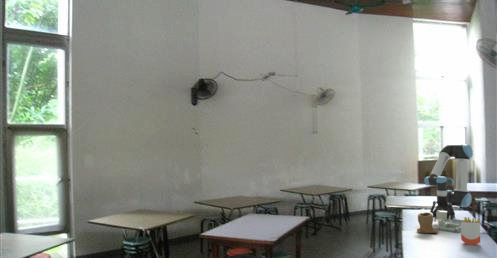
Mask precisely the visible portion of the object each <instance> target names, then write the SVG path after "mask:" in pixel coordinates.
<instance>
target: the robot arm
mask: <svg viewBox="0 0 497 258" xmlns="http://www.w3.org/2000/svg"><path fill="white" fill-rule="evenodd" d="M473 152H474V151H473V147H472V146H471V145H470V144H467V143H449V144H447V145H445V146H444V147H443V148H442V149H441V150H440V151H439V153H438V158H437V160H436V162H435V164H434V166H433V167H432V170H431V172H430V174H429V176H426V177H424V179H423V180H424V184H425V186H428V187H429V186H430V187H436V201H435V200H434V201H432V206H431V209H430V210H429V213H431V214H432V216H433V223H437V219H436V218H435V217H434V212H436V210H439V211H441V210H442V211H448V213H449V214H450V216H449V218H448V221H449V222H448V223H449V224H452V221H453V218H456V214H455V211H454V208H453V206H454V207H462V208H467V207H469V206H470V205H471V202H472V200H473V198H472V194H471V193H470V191H469V190H468V166H469V165H468V164H469V163H468V162H470V161H471V159H470V158H472V157H473V155H474V154H473ZM451 158H454V160H455V161H456V168H455V169H456V171H455V173H456V174H455V179H456V180H454V179H453V178H451V177H447V176H442V172H443V170H444V169H445V166H446V164H447V163H448V161H449V160H450V159H451ZM454 185H455V189H453V190H452V189H448V188H451V187H453V186H454Z"/></svg>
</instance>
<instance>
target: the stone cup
mask: <svg viewBox="0 0 497 258" xmlns="http://www.w3.org/2000/svg"><path fill="white" fill-rule="evenodd" d="M417 221H418V224H419V227H418V228H417V229H416V231H417V232H418V233H420V234H421V233H422V234H438V232H439V230H438V228H439V227H433V223H434V218H433V213H431V212H428V211H427V212H420V213H418V215H417Z"/></svg>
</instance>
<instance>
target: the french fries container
mask: <svg viewBox="0 0 497 258" xmlns="http://www.w3.org/2000/svg"><path fill="white" fill-rule="evenodd" d="M463 218H464V219H462V220H461V222H460V223H461V224H460V225H461V232H460V239H461V241H462V242H463V243H464V244H465V245H466V246H467V245H468V246H469V245H470V246H477V245H478V244H480V243H481V222H480V218H477V219H475V217H472V219H470V217H469V216H465V217H463Z"/></svg>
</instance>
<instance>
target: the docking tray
mask: <svg viewBox="0 0 497 258" xmlns="http://www.w3.org/2000/svg"><path fill="white" fill-rule="evenodd" d="M437 228H438V231H442V232H443V231H444V232H451V233H457V234H461V224H458V223H457V224H456V223H451V224H449V222H448V223H445V224H444V225H439V226H438V227H437Z"/></svg>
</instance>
